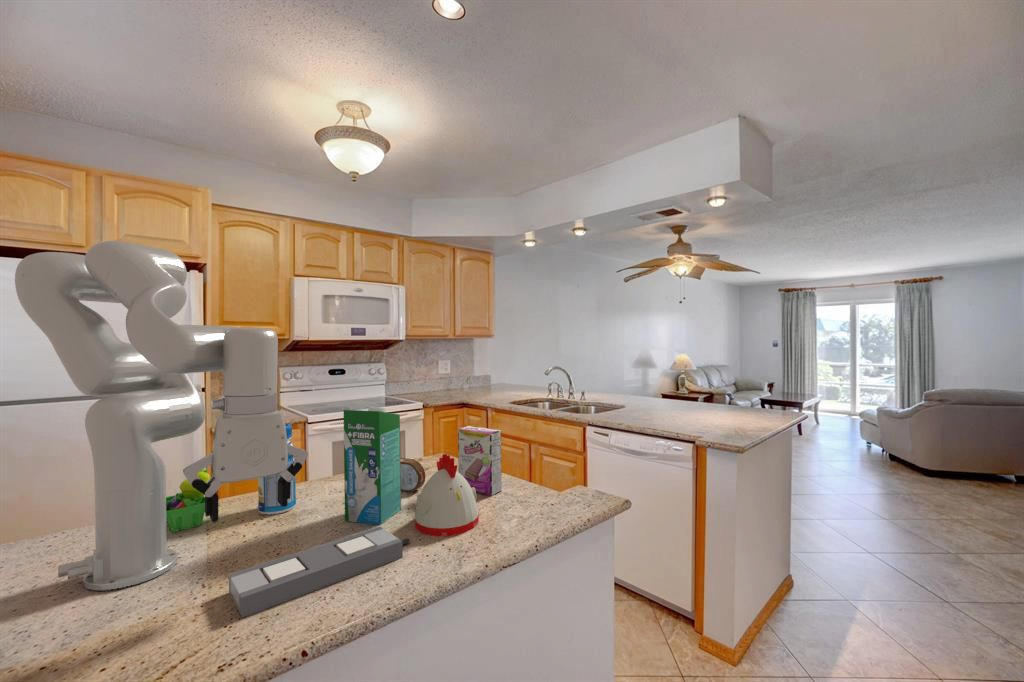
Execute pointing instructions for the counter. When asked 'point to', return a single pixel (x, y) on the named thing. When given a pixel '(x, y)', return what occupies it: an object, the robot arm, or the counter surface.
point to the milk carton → (371, 465)
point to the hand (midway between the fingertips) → (249, 511)
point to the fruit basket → (186, 505)
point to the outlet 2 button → (354, 546)
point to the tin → (411, 475)
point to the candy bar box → (480, 458)
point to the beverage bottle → (276, 488)
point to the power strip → (311, 571)
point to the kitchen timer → (446, 502)
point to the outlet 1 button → (282, 570)
